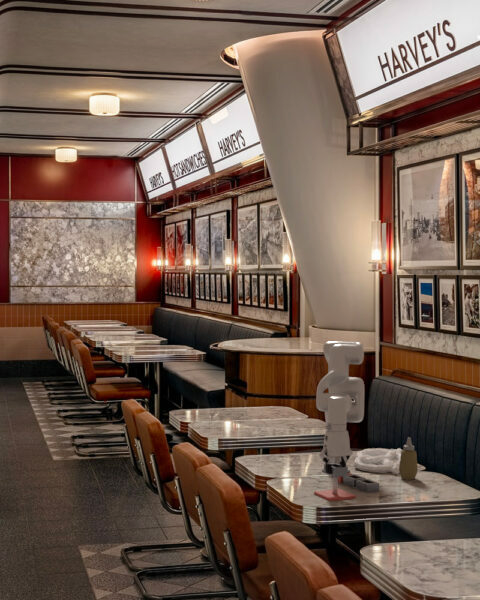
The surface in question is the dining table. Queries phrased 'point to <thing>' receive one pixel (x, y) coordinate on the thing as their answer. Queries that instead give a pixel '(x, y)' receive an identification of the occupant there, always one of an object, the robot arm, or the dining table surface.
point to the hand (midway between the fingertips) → (335, 472)
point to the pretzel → (378, 460)
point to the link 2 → (367, 485)
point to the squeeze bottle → (408, 461)
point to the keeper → (334, 493)
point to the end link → (337, 470)
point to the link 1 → (351, 480)
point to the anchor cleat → (340, 479)
